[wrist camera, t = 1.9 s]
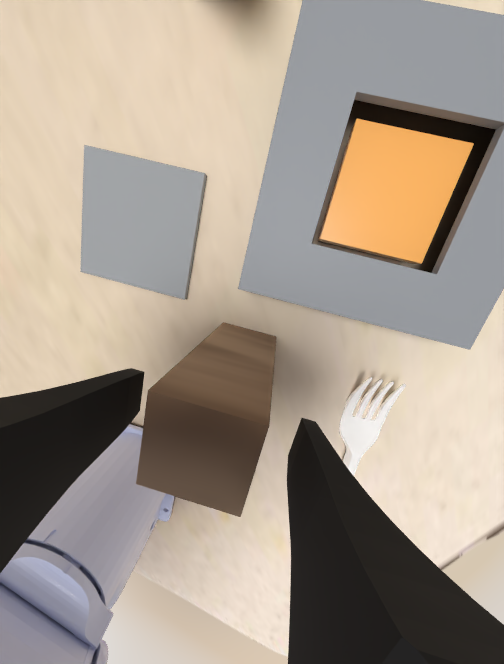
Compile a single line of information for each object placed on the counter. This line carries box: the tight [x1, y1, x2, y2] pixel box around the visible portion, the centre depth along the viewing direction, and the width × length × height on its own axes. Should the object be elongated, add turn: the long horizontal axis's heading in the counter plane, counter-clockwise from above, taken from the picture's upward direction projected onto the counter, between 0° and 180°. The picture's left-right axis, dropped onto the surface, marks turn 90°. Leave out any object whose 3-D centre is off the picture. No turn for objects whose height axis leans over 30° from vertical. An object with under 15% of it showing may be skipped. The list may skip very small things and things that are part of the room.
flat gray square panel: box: [81, 145, 207, 300], centre depth 16 cm, size 8×8×1 cm
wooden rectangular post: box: [136, 322, 276, 517], centre depth 13 cm, size 4×4×10 cm
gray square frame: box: [238, 0, 504, 350], centre depth 12 cm, size 13×13×3 cm
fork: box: [339, 377, 406, 476], centre depth 19 cm, size 3×20×2 cm, turn 171°
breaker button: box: [318, 119, 474, 264], centre depth 12 cm, size 6×6×1 cm
